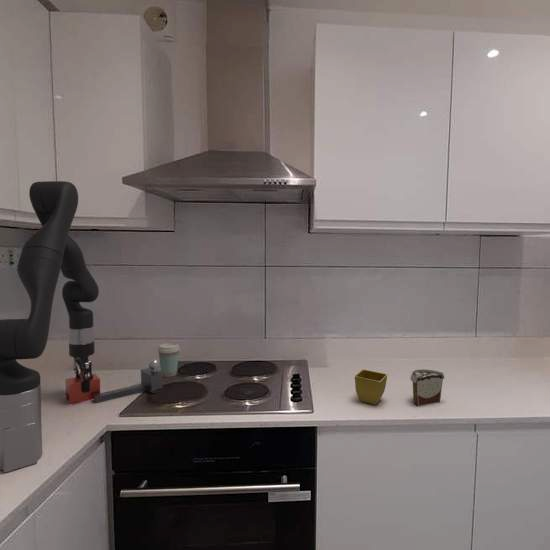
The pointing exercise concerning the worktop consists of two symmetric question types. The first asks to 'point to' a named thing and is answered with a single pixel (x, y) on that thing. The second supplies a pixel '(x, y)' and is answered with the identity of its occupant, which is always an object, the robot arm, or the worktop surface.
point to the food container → (426, 386)
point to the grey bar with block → (148, 383)
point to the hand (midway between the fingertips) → (82, 388)
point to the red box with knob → (75, 389)
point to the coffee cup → (168, 358)
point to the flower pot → (370, 386)
